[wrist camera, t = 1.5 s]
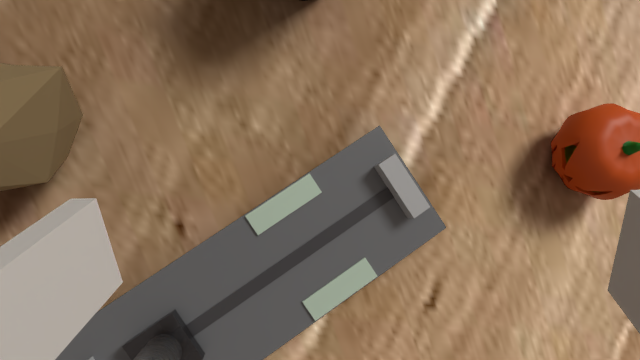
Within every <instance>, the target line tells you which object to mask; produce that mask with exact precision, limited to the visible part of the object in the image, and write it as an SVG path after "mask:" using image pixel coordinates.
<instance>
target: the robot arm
mask: <svg viewBox="0 0 640 360" xmlns="http://www.w3.org/2000/svg"><path fill="white" fill-rule="evenodd" d="M122 283H123V281H122V278H121V275H120V272H119V269H118V266H117V263H116V259H115V256H114V253H113V250H112V247H111V244H110V241H109V237H108V234H107V231H106V228H105V225H104V222H103V218H102V215H101V212H100V209H99V206H98V203H97V200H96V198H84V199H69V200H68V201H66V202H65V203H63V204H62V205H61V206H59V207H58V208H56V209H55V210H53V211H52V212H50V213H49V214H47V215H46V216H44V217H43V218H42V219H40V220H39V221H37V222H36V223H34V224H33V225H31V226H30V227H28V228H27V229H25V230H24V231H23V232H21V233H20V234H18V235H17V236H15V237H14V238H12V239H11V240H9V241H8V242H6V243H5V244H4V245H2V246H1V247H0V360H55V359H56V358H57V357H58V356H59V355H60V353H61V352H62V351H63V350H64V349H65V348H66V347H67V345H68V344H69V343H70V342H71V341H72V340H73V339H74V337H75V336H76V335H77V334H78V333H79V332H80V331H81V329H82V328H83V327H84V326H85V325H86V324H87V323H88V321H89V320H90V319H91V318H92V317H93V316H94V315H95V313H96V312H97V311H98V310H99V309H100V308H101V307H102V305H103V304H104V303H105V302H106V301H107V300H108V299H109V297H110V296H111V295H112V294H113V293H114V292H115V291H116V289H117V288H118V287H119V286H120V285H121V284H122ZM608 291H609V293H610V294H611V295H612V297H613V298H614V300H615V301H616V302H617V304H618V305H619V306H620V308H621V309H622V310H623V312H624V313H625V314H626V316H627V317H628V319H629V320H630V321H631V323H632V324H633V325H634V327H635V328H636V329H637V331H638V332H639V333H640V190H630V193H629V197H628V202H627V206H626V211H625V215H624V220H623V224H622V228H621V233H620V237H619V242H618V246H617V251H616V255H615V259H614V264H613V268H612V273H611V277H610V282H609V286H608Z"/></svg>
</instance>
